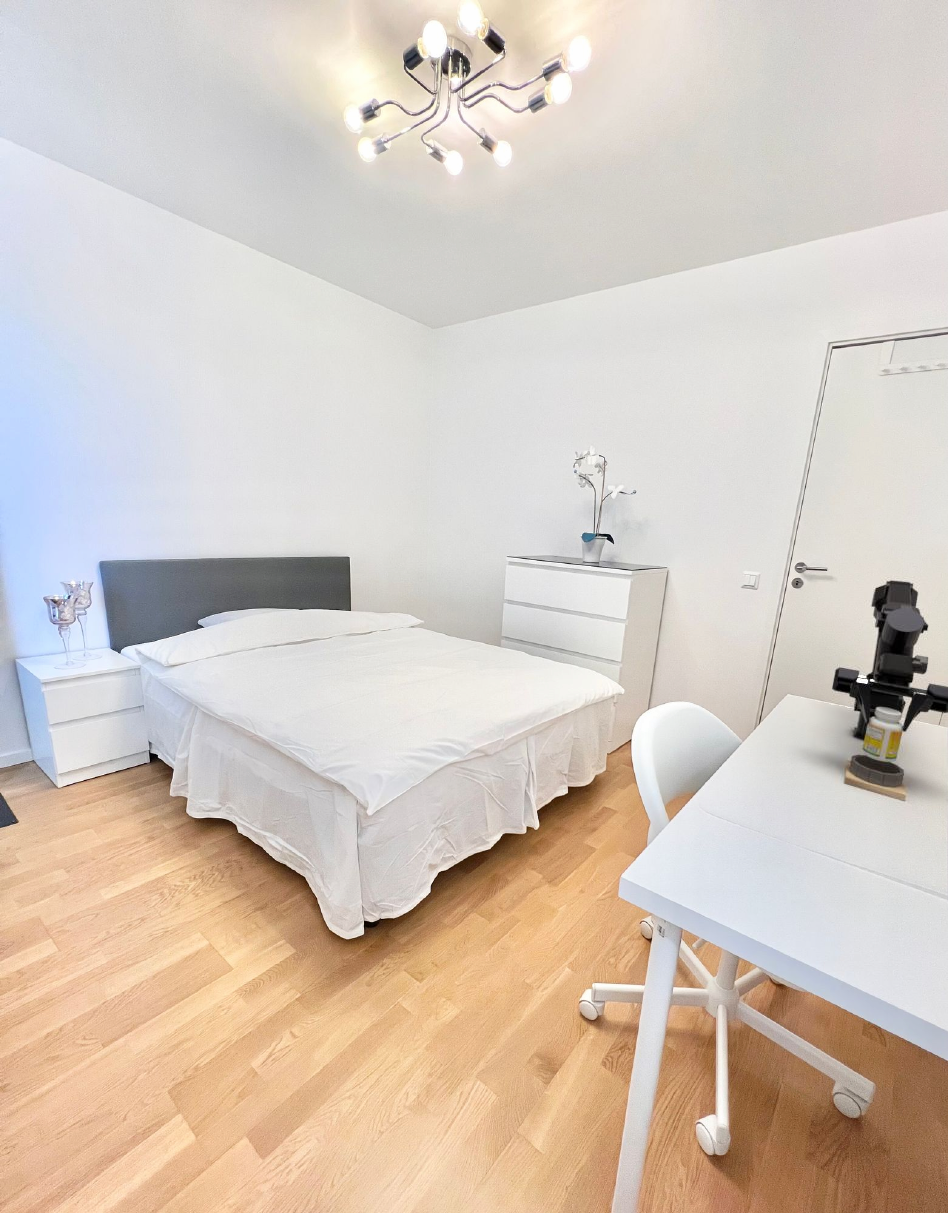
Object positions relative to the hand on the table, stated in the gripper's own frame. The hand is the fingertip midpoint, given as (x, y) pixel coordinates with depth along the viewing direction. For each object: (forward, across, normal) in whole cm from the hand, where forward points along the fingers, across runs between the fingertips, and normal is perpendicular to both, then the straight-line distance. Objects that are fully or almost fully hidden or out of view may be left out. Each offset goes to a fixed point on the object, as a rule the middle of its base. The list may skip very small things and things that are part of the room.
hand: (885, 726), depth 99 cm
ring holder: (+8, 0, +9) cm, 12 cm away
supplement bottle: (+4, 0, +6) cm, 7 cm away
